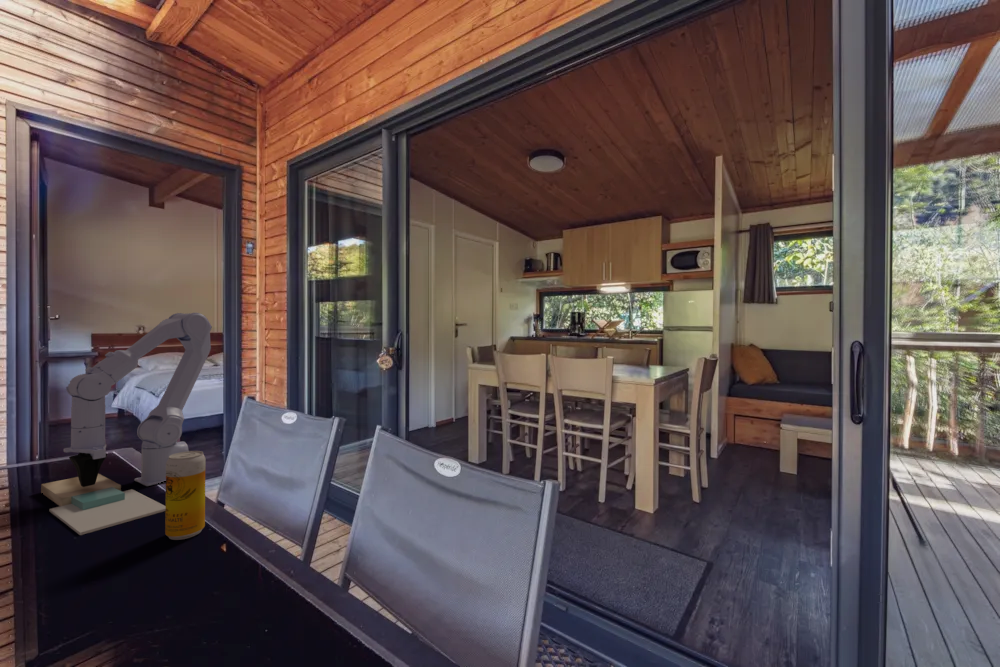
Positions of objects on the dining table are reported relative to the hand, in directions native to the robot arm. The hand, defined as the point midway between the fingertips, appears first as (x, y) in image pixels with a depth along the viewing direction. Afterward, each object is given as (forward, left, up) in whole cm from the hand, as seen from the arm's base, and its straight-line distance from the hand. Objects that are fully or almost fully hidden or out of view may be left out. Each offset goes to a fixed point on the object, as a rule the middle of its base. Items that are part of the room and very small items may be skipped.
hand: (88, 485), depth 99 cm
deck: (0, -5, -3) cm, 6 cm away
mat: (0, +14, -3) cm, 14 cm away
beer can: (-4, +39, -3) cm, 39 cm away
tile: (0, +7, -2) cm, 7 cm away
